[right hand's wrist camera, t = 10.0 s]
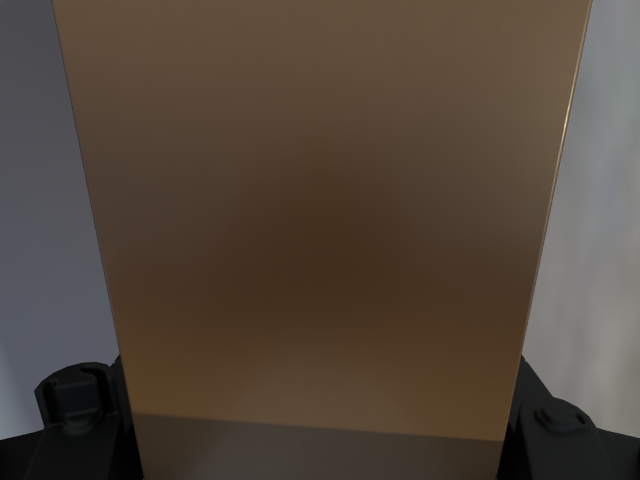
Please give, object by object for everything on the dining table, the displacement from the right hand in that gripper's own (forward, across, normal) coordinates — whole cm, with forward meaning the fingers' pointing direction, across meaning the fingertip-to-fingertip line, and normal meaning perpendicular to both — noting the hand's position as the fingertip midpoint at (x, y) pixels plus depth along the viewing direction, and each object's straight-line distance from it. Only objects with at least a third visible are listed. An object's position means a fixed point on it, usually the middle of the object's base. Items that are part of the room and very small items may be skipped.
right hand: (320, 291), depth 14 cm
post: (+1, 0, -31) cm, 31 cm away
